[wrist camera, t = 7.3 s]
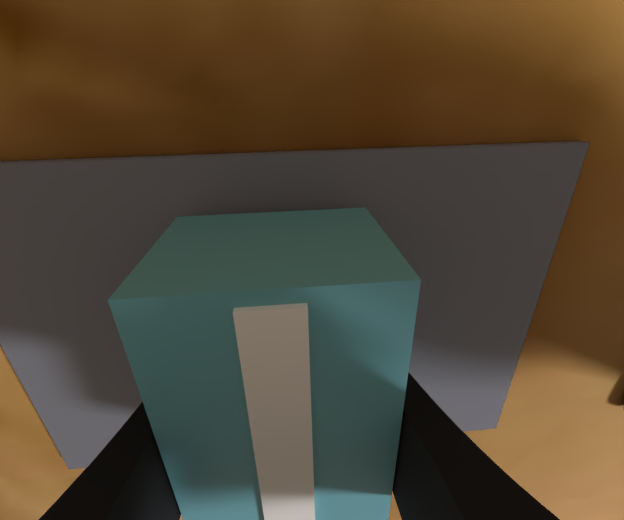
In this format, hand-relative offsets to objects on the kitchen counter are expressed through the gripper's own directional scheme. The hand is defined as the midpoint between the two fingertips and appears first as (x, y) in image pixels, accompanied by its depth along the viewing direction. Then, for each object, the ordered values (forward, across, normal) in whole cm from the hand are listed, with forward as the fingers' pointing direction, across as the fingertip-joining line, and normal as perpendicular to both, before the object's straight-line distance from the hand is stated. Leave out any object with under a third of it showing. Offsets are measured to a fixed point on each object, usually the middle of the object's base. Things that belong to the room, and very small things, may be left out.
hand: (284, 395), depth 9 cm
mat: (+3, 0, 0) cm, 3 cm away
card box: (+2, 0, 0) cm, 2 cm away
